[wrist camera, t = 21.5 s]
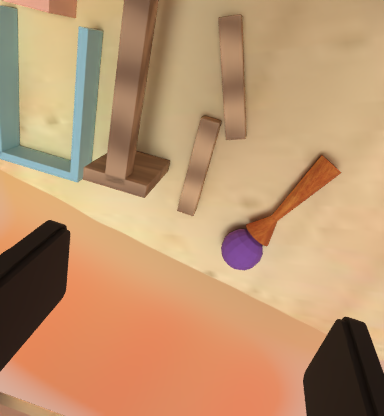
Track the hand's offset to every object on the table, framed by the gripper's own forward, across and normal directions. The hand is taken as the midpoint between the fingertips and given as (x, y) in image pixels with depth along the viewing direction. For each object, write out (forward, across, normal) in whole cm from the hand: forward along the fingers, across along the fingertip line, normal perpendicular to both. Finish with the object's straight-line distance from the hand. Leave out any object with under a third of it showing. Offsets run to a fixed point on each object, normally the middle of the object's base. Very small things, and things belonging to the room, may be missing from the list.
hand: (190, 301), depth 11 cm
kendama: (+37, -8, +11) cm, 39 cm away
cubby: (+36, +28, +5) cm, 46 cm away
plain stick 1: (+37, +5, +8) cm, 38 cm away
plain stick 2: (+37, +3, -4) cm, 37 cm away
